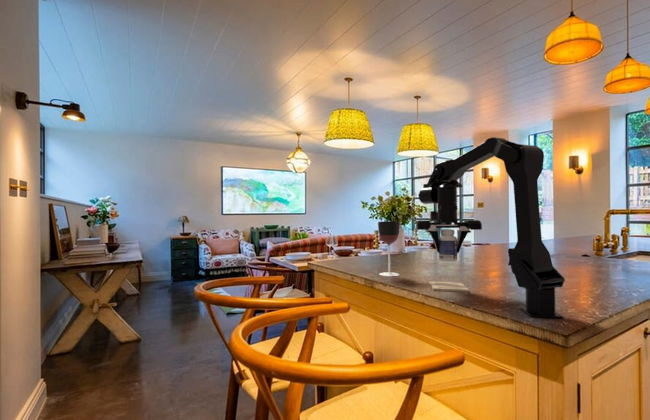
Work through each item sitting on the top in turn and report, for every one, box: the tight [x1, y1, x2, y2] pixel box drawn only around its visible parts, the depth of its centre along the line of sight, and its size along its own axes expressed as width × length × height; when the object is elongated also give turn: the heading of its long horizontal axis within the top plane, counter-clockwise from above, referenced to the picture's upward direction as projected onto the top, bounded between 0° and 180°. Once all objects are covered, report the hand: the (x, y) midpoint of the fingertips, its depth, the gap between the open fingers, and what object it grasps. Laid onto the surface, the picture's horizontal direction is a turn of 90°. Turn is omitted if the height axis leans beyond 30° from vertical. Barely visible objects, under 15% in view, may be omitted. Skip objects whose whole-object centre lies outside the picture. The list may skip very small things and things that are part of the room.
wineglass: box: [377, 221, 400, 277], centre depth 123 cm, size 8×9×20 cm
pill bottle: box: [438, 228, 458, 262], centre depth 101 cm, size 5×5×10 cm
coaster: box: [428, 281, 470, 293], centre depth 101 cm, size 10×10×1 cm
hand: (447, 252), depth 101 cm, fingers closed on pill bottle, 5 cm apart
